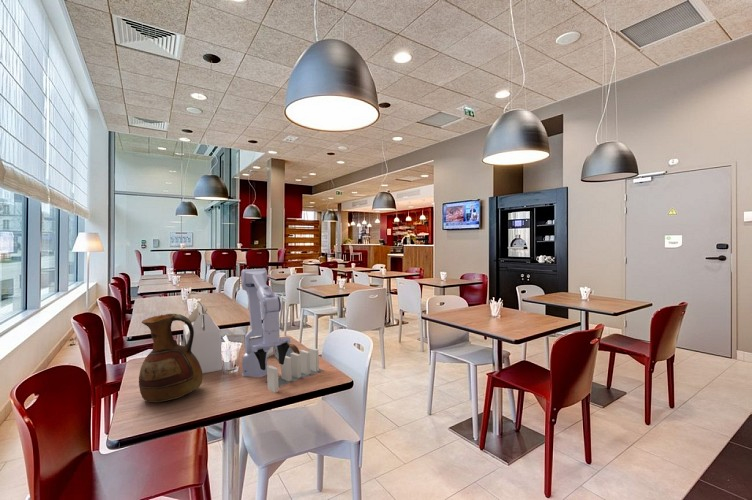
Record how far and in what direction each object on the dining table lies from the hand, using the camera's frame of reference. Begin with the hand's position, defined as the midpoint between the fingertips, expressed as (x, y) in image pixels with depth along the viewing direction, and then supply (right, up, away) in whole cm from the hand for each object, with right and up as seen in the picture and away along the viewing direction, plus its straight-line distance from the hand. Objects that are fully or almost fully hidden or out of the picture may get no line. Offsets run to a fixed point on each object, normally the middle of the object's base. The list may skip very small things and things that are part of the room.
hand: (272, 366), depth 133 cm
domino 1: (0, -9, 0) cm, 9 cm away
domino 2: (+3, -9, +11) cm, 14 cm away
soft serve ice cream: (-18, -9, +47) cm, 51 cm away
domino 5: (+12, -8, +20) cm, 25 cm away
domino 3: (+6, -8, +14) cm, 17 cm away
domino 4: (+9, -8, +17) cm, 21 cm away
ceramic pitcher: (-36, -10, -1) cm, 37 cm away
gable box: (-40, -10, +30) cm, 51 cm away
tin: (-3, -9, +34) cm, 35 cm away
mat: (+6, -9, +14) cm, 17 cm away
